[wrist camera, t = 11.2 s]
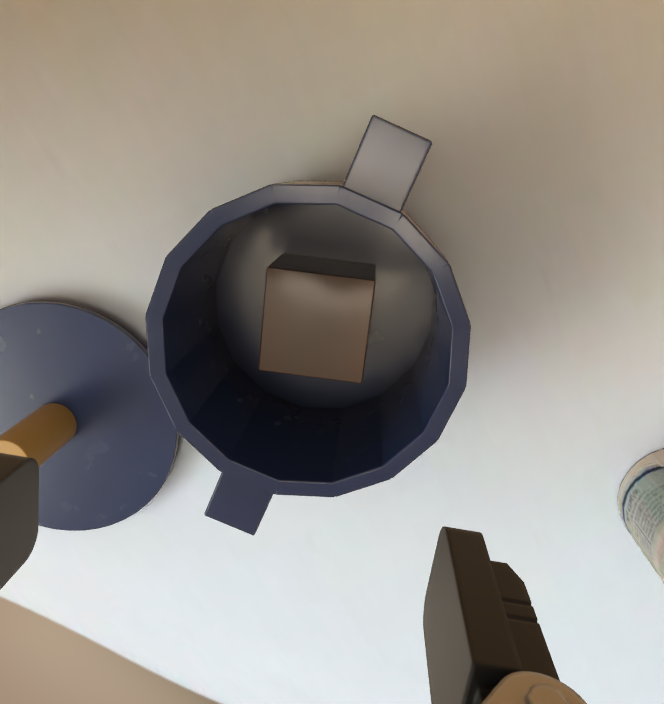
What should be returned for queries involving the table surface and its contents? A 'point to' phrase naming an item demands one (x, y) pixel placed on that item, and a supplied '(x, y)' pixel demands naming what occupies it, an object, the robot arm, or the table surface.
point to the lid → (82, 413)
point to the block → (317, 317)
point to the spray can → (645, 507)
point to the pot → (300, 391)
